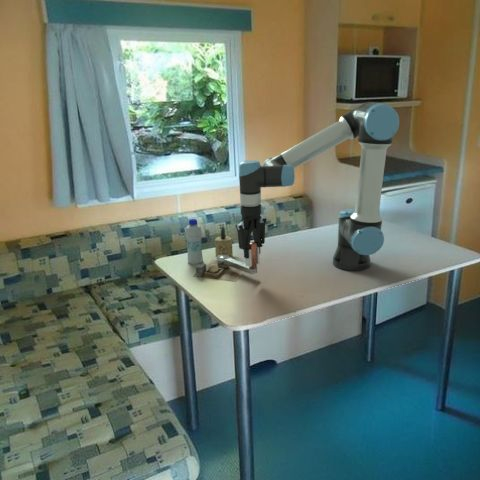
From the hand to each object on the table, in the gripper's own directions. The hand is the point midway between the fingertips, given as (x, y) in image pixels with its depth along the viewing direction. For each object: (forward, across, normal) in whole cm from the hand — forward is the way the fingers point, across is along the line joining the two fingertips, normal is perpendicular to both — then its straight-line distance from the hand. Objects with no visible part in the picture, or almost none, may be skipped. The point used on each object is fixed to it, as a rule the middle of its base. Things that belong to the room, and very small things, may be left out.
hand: (252, 264), depth 184 cm
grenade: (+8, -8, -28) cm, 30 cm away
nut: (+6, +8, -14) cm, 17 cm away
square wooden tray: (+7, +3, -15) cm, 17 cm away
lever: (+4, +1, -9) cm, 10 cm away
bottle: (+8, +5, -31) cm, 32 cm away
